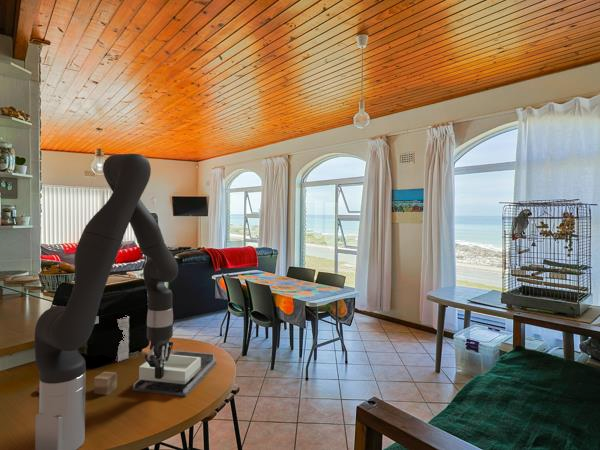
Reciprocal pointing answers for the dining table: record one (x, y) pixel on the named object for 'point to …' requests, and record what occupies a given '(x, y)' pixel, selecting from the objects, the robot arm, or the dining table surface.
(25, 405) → the dining table surface
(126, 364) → the dining table surface
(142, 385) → the dark rimmed tray
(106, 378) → the light brown block
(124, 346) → the candy bar box
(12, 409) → the dining table surface
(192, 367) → the white box on tray
